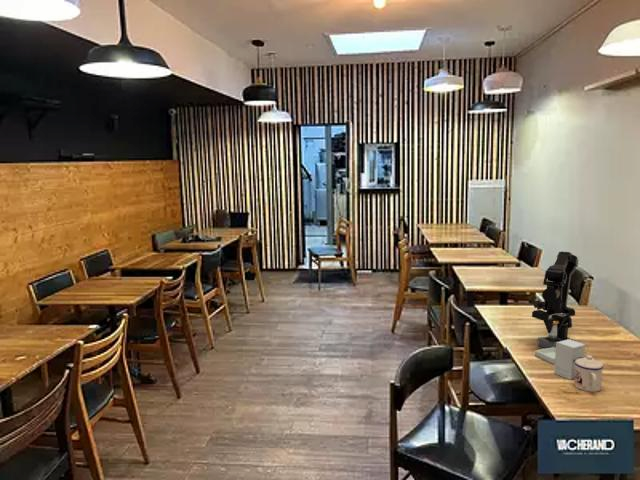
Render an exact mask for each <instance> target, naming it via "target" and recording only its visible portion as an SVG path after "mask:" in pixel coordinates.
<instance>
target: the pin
mask: <svg viewBox="0 0 640 480" xmlns="http://www.w3.org/2000/svg"><path fill="white" fill-rule="evenodd" d="M557 324H559V320H557V319H554V321H553V325H552V329H551V332H550V333H548V332H547V333H548V335H547V336H548V340H549V341H551V342H555V341H557Z"/></svg>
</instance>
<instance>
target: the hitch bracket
mask: <svg viewBox="0 0 640 480" xmlns="http://www.w3.org/2000/svg"><path fill="white" fill-rule="evenodd" d="M560 341H564V340H563V339H560V338H558V337H557V341H555V342H551V341H549V340H548V335H547V336H542V337H538V338H537V347H538V348H540V349H542V348H543V349H546V348H552V347H554V348H556V342H560Z"/></svg>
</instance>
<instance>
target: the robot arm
mask: <svg viewBox="0 0 640 480" xmlns="http://www.w3.org/2000/svg"><path fill="white" fill-rule="evenodd" d="M578 267H579V258H578V256H577V255H574V254H572V252H570V251H562V250H561V251H559V252H558V254H557V256H556V260H555V262H554V264H553V265H550V266H549V267H548V268H547V269H546V270H545V273H544V277H543V283H542V285H543V286H546V288H545V289H544V290H543V291H542V293H541V297H542V299H543V301H541V300H540V299H538V300H537V299H536V300H534V301H533V307H534V309H537V310H533V311H531V312H532V313H531V317H532V318H534V319H537V320H540V321H543V323H544V325H545V328H546V332H547V333H550V332H551V329H552V325H553V321H554V319H557V320H559V324H557V337H558V338H560V339H563V340H568V339H569V340H571V338H570V337H568V333H569V329H570V328H572V327H573V320H572V319H573V318H572V317H574V316H576V310H575V309H574V308H573V307H568V300H569V292H570V284H571V280H572V279H571V278H572V277H571V276H572V275H573V274H574V273H576V270H577V268H578Z"/></svg>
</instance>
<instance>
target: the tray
mask: <svg viewBox="0 0 640 480" xmlns="http://www.w3.org/2000/svg"><path fill="white" fill-rule="evenodd" d="M555 354H556V348H554V347H552V348H546V349H542V348H540V349H537V350H536V349H535V350H534V357H536V358H537V359H540V360H542V361H544V362H545V363H549V364H550V365H554V366H555Z"/></svg>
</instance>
